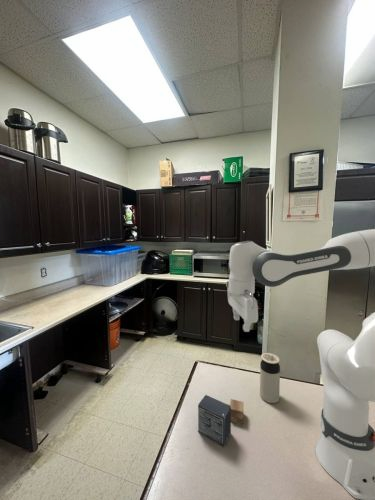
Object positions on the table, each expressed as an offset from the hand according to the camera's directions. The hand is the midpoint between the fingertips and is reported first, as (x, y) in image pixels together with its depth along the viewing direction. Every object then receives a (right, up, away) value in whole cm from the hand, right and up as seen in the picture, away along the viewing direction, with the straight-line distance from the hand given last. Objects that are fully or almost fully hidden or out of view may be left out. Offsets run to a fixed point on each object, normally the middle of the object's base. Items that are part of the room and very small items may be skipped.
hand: (241, 324), depth 75 cm
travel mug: (+17, -38, +18) cm, 46 cm away
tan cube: (0, -39, +7) cm, 40 cm away
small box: (-9, -40, +1) cm, 41 cm away
